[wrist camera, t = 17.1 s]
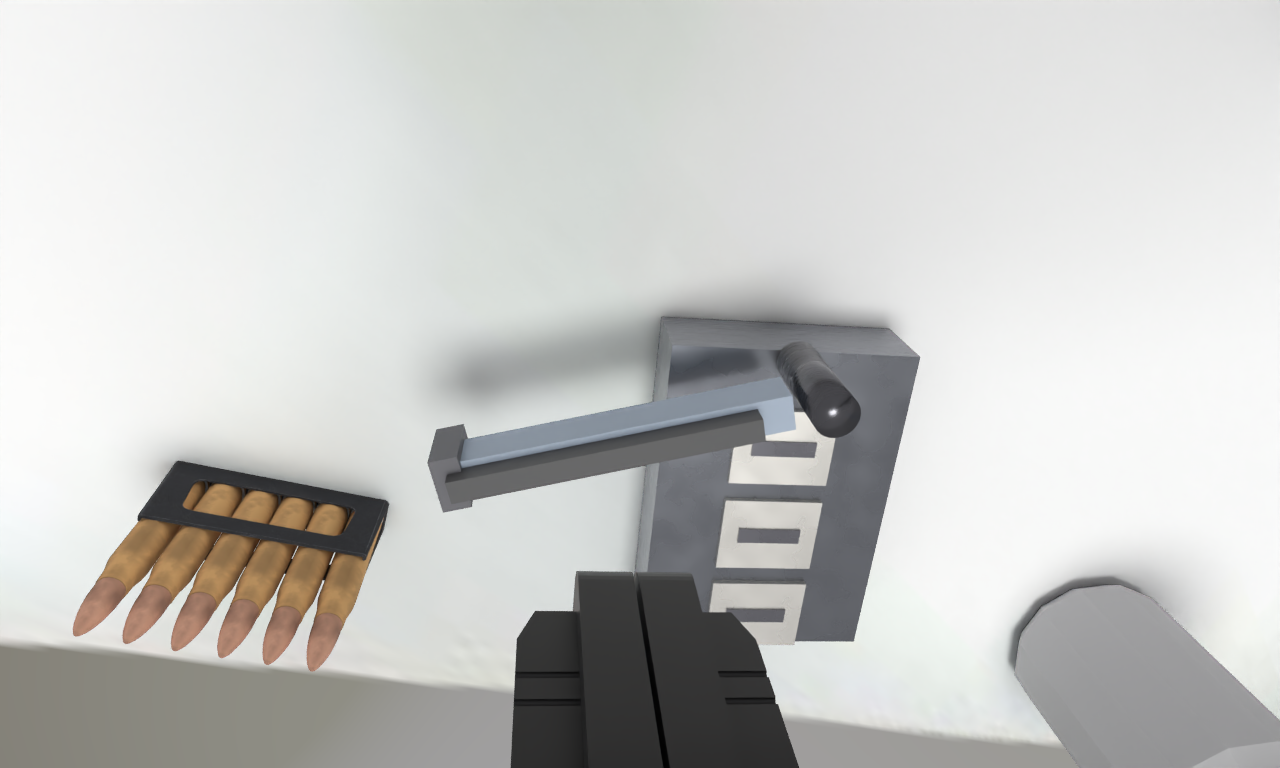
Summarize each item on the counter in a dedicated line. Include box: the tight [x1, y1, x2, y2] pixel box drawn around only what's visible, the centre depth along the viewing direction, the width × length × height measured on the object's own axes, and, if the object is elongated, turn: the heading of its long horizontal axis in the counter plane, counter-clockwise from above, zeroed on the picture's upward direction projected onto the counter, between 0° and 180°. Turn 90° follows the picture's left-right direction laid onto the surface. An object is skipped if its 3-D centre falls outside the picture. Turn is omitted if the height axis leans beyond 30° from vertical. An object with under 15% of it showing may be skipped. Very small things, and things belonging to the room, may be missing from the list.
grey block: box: [635, 317, 920, 645], centre depth 42 cm, size 12×18×10 cm
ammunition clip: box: [73, 461, 389, 671], centre depth 39 cm, size 11×2×12 cm, turn 73°
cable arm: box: [428, 377, 796, 512], centre depth 36 cm, size 2×15×4 cm, turn 100°
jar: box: [1015, 585, 1280, 768], centre depth 46 cm, size 10×10×18 cm
